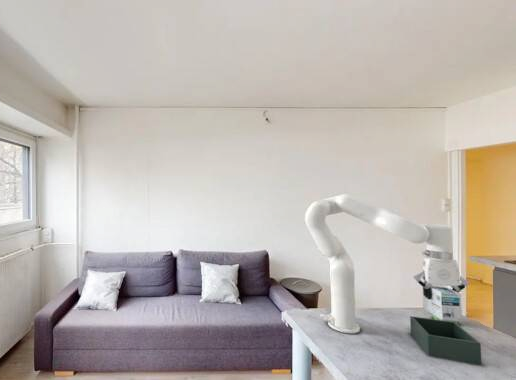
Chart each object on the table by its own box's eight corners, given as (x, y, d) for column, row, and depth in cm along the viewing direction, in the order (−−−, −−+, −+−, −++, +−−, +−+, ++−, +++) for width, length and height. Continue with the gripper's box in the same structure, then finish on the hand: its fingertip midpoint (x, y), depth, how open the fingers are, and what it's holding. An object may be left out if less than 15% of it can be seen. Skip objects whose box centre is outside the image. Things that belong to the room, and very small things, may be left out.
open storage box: (428, 355, 100) (427, 335, 100) (410, 333, 115) (410, 316, 115) (481, 365, 94) (480, 343, 94) (455, 340, 109) (454, 322, 109)
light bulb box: (463, 322, 99) (462, 293, 99) (441, 320, 100) (441, 292, 100) (440, 309, 109) (440, 283, 109) (422, 308, 111) (421, 282, 111)
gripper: (415, 255, 105) (417, 299, 105) (475, 259, 98) (476, 306, 98) (408, 251, 112) (409, 293, 112) (463, 254, 105) (464, 298, 105)
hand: (440, 299), depth 105 cm, fingers closed on light bulb box, 7 cm apart
